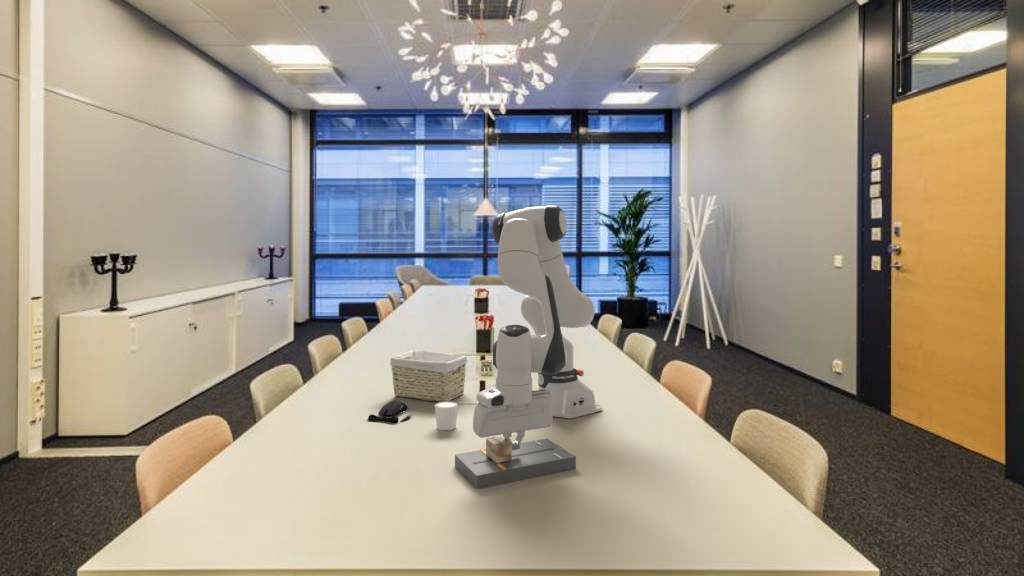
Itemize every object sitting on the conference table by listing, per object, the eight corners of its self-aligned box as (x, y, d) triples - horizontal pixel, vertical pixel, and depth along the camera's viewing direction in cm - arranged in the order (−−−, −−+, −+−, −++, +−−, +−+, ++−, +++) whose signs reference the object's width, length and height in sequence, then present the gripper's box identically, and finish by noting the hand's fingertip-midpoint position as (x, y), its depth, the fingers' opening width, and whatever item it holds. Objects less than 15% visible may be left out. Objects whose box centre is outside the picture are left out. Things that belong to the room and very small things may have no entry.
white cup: (453, 431, 161) (453, 408, 160) (431, 430, 162) (431, 406, 161) (460, 424, 167) (460, 401, 167) (439, 423, 169) (439, 400, 168)
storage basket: (469, 393, 203) (468, 354, 202) (447, 405, 188) (446, 362, 187) (413, 387, 212) (413, 349, 211) (388, 397, 197) (388, 357, 196)
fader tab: (501, 451, 136) (501, 435, 136) (511, 460, 131) (511, 443, 130) (486, 454, 134) (486, 437, 134) (496, 463, 129) (496, 445, 129)
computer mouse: (427, 411, 183) (427, 399, 182) (398, 426, 166) (397, 413, 166) (395, 407, 187) (395, 395, 187) (364, 422, 171) (364, 409, 171)
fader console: (547, 449, 147) (547, 437, 146) (575, 468, 134) (575, 455, 134) (454, 466, 135) (454, 453, 135) (476, 488, 123) (476, 474, 122)
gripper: (544, 385, 140) (544, 438, 141) (470, 394, 131) (470, 451, 132) (557, 391, 135) (557, 446, 136) (480, 401, 126) (480, 460, 127)
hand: (513, 449), depth 134 cm, fingers closed
